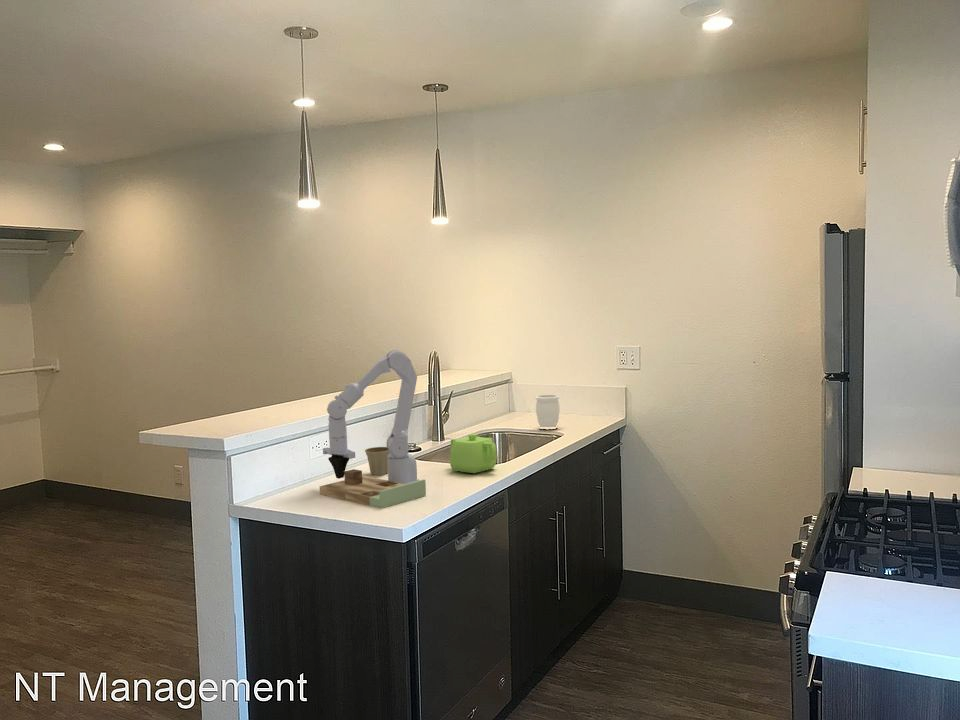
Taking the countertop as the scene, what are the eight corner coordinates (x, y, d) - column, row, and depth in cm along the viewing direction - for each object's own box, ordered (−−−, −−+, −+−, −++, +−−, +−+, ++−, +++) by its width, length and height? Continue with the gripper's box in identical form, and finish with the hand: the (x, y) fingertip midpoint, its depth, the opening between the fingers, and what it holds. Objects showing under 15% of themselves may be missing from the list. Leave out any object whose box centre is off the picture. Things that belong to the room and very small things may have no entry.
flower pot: (375, 477, 280) (373, 453, 279) (360, 473, 287) (359, 449, 286) (397, 473, 286) (396, 449, 285) (383, 469, 293) (382, 445, 292)
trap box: (363, 483, 272) (362, 468, 272) (426, 495, 252) (425, 479, 252) (319, 494, 259) (319, 478, 258) (382, 508, 239) (381, 491, 238)
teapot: (472, 462, 301) (471, 427, 300) (515, 467, 288) (514, 431, 287) (438, 471, 287) (437, 434, 286) (482, 478, 274) (481, 439, 273)
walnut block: (354, 481, 264) (353, 469, 264) (362, 482, 261) (361, 470, 261) (344, 483, 261) (344, 471, 261) (352, 485, 258) (352, 472, 258)
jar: (563, 428, 369) (563, 395, 368) (553, 431, 360) (552, 398, 359) (543, 426, 375) (542, 394, 373) (532, 430, 366) (531, 397, 365)
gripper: (314, 436, 267) (316, 477, 268) (342, 440, 257) (344, 483, 258) (331, 433, 272) (333, 473, 273) (359, 437, 262) (361, 478, 263)
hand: (340, 477), depth 266 cm, fingers closed
